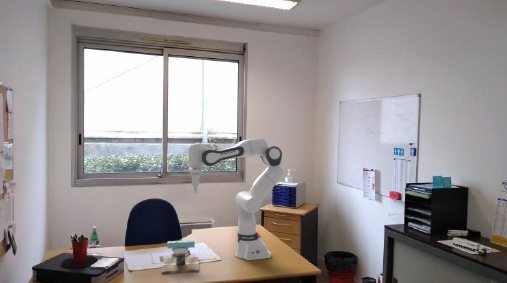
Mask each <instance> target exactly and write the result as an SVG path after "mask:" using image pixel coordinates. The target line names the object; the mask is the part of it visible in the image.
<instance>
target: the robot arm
mask: <svg viewBox="0 0 507 283" xmlns="http://www.w3.org/2000/svg"><path fill="white" fill-rule="evenodd" d="M254 156H259V157H260V159H261V160H262V162H263V164H265V165H266V168H265V169H264V170H263V171H262V172H261V173H260V175H258V177H257V178H256V179H255V180H254V181H253V184H252V186H251V188H250V190H249V191H247V190H243V191H239V192H238V193H237V194H236V196H235V197H234V198H235V203H236V212H237V213H236V214H237V220H238V221H237V222H238V223H237V224H238V226H237V227H238V228H237V232H236V241H237V245H236V251H235V254H234V256H236V257H237V258H239V259H242V260H246V261H255V260H263V259H270V258H271V257H272V252H271V251H270V250H268V246H267V244H266V243H265V242H264V241H263V240H262V239H260V238H262V236H261V235H260V233H258V232H257V219H256V215H255V213H258V212H259V211H260V209H261V205H262V203H263V201H264V199H265V198H266V196H267V194H268V193H269V192H270V191H271V190H272V189H273V188H274V186H276V185H277V183H278V182H279V180H280V179H281V178H282V176H283V174H284V170H283V168H282V166H281V162H282V158H283V152H282V150H281V148H279V147H278V146H275V145H272V146H268V143H267V140H266V139H264V138H262V137H256V138H249V139H245V140H242V141H241V140H240V141H239V142H237V144H235V145H234V146H232V147H229V148H225V149H220V150H216V149H213V148H210V147H207V146H206V145H204V144H202V143H201V142H196V143H192V144H190V146H189V147H188V156H187V157H188V164H187V165H188V166H187V167H188V169H187V170H188V171H187V172H188V173H189V175H190V176H191V182H192V187H193V193H194V194H195V193H196V194H197V193H198V187H199V184H200V177H201V174H202V173H203V164H204V165H205V166H207V167H213V166H215V165H217V164H218V163H220V162H222V161H226V160H230V159H234V158H250V157H254Z"/></svg>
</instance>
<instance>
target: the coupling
mask: <svg viewBox="0 0 507 283" xmlns="http://www.w3.org/2000/svg"><path fill="white" fill-rule="evenodd" d="M195 243H196V242H195V240H173V241H171V240H169V241H167V246H166V247H167V248H166V249H172V248H174V252H173V255H174V256H176V257H177V256H184V255H185V256H187V255H189V254H188V250H189V249H191V248H195V246H196V245H195Z"/></svg>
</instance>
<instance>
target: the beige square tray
mask: <svg viewBox="0 0 507 283" xmlns="http://www.w3.org/2000/svg"><path fill="white" fill-rule="evenodd" d="M199 262H200V261H199V256H194V257H193V256H190V257H189V256H188V257H186V255H184V256H177V255H176V257H169V258H168V257H167V258H163V262H162V268H161V275H165V274H166V275H167V274H187V273H188V274H189V273H200V263H199Z"/></svg>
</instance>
